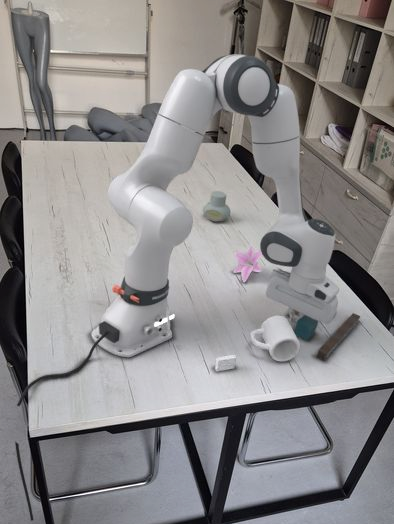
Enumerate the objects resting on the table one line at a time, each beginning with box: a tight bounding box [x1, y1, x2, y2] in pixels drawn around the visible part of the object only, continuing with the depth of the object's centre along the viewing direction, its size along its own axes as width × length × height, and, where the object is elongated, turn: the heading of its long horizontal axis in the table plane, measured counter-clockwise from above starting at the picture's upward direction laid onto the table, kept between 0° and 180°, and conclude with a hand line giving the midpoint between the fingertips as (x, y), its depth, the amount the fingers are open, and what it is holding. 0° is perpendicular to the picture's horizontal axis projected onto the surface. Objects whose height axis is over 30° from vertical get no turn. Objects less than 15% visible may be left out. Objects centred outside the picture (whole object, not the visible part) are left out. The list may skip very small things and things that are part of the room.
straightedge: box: [316, 312, 361, 362], centre depth 138 cm, size 24×2×2 cm, turn 143°
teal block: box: [293, 315, 319, 342], centre depth 138 cm, size 4×4×4 cm
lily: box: [233, 243, 263, 284], centre depth 159 cm, size 12×12×10 cm
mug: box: [249, 315, 301, 362], centre depth 129 cm, size 12×10×8 cm
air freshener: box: [202, 190, 232, 223], centre depth 190 cm, size 11×8×10 cm
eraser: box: [214, 354, 237, 372], centre depth 123 cm, size 1×5×4 cm, turn 110°
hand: (294, 321), depth 139 cm, fingers closed
